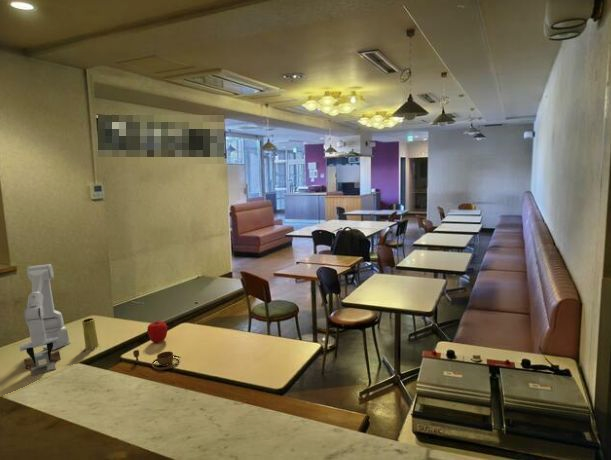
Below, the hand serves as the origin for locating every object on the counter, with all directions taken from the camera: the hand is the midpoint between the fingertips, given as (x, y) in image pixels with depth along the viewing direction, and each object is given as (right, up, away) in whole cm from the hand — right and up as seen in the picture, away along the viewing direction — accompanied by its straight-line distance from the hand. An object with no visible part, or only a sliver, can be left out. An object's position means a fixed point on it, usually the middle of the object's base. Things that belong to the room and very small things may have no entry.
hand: (42, 361), depth 189 cm
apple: (+45, +2, +23) cm, 50 cm away
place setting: (+53, -1, +2) cm, 53 cm away
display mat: (0, -4, +1) cm, 4 cm away
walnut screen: (-3, -3, +6) cm, 7 cm away
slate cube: (0, -1, 0) cm, 2 cm away
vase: (+12, 0, +21) cm, 24 cm away
